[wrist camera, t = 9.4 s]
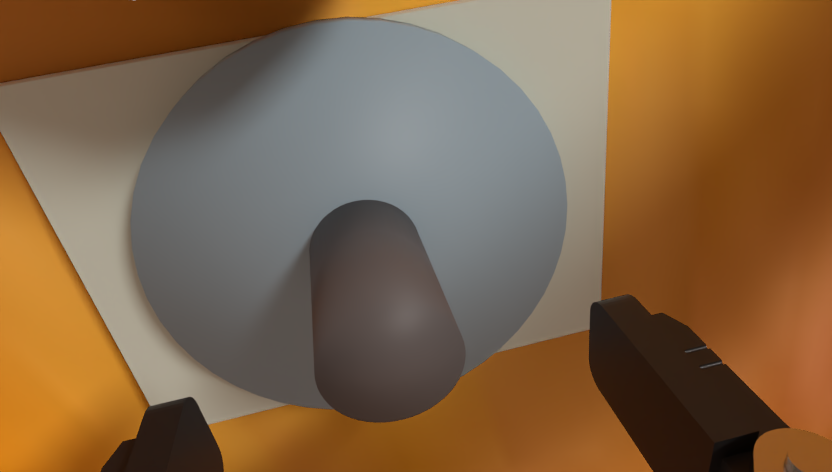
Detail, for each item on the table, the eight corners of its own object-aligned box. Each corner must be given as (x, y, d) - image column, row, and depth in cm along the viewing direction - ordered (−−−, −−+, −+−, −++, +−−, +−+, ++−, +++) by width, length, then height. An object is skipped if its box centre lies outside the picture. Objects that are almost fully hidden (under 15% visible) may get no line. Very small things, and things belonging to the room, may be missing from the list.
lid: (549, -22, 14) (698, -5, 9) (556, 341, 20) (646, 477, 15) (56, 66, 13) (-109, 147, 8) (222, 424, 19) (194, 605, 14)
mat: (600, -25, 15) (612, -25, 14) (592, 317, 21) (600, 326, 20) (-9, 84, 13) (-22, 90, 13) (169, 421, 19) (166, 435, 19)
